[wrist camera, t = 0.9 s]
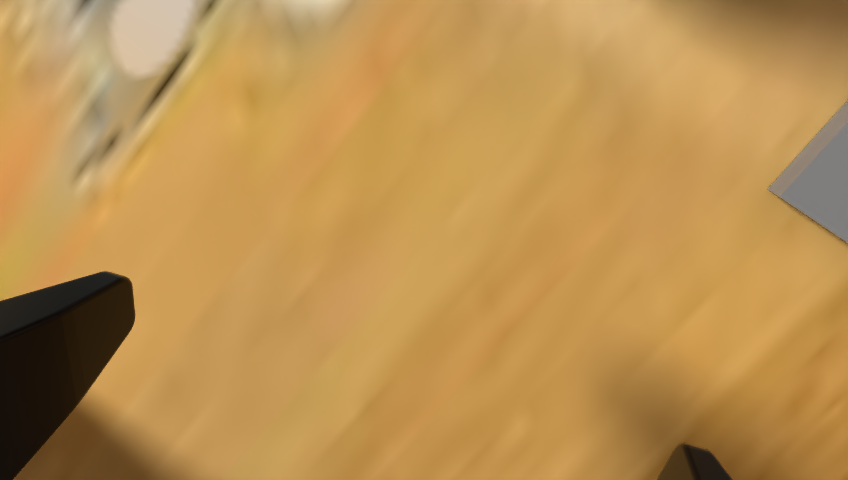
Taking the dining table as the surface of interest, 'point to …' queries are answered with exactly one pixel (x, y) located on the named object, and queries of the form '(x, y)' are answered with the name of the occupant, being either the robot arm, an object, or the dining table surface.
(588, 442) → the dining table surface
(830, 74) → the dining table surface
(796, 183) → the coaster
